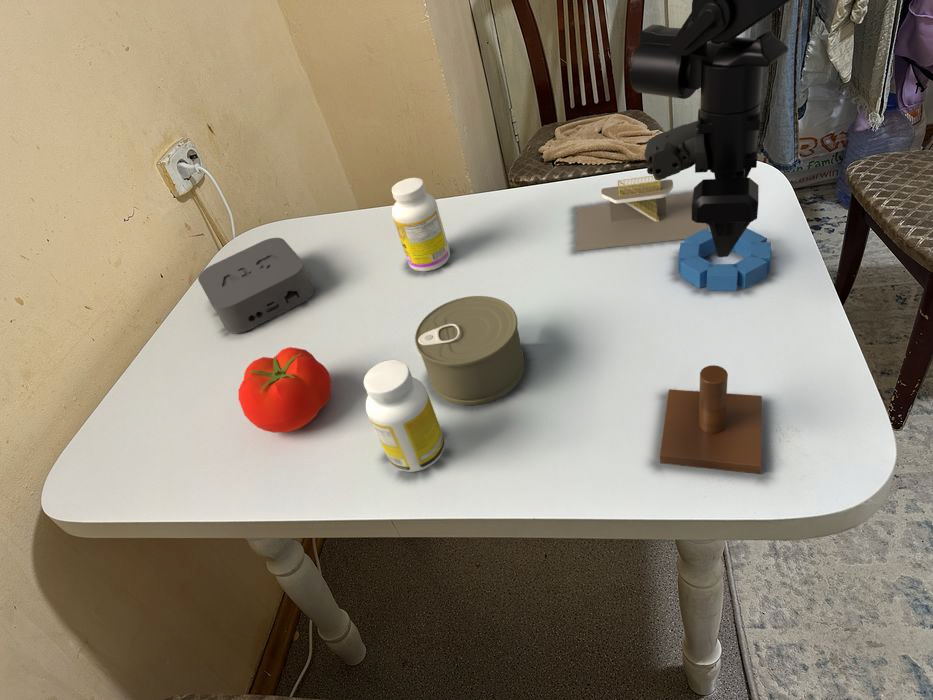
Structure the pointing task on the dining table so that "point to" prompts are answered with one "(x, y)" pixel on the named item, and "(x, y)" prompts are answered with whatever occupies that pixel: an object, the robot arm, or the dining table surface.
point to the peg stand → (713, 426)
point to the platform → (636, 216)
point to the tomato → (284, 390)
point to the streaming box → (256, 284)
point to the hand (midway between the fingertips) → (724, 233)
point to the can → (471, 349)
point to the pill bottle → (403, 416)
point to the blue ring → (724, 274)
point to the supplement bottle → (419, 225)
